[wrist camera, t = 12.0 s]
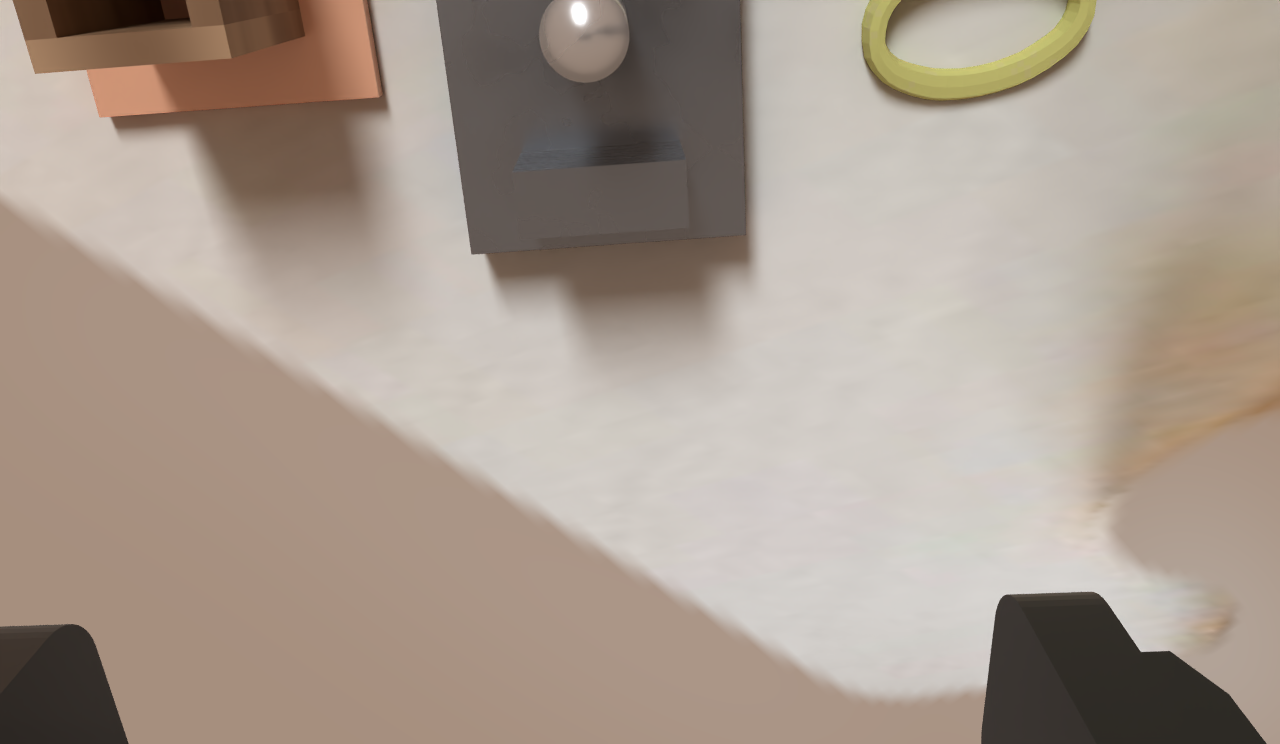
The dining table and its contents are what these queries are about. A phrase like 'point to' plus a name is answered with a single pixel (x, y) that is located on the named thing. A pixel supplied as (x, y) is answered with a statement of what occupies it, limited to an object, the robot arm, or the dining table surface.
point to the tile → (254, 69)
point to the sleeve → (150, 31)
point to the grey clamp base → (596, 120)
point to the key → (969, 79)
